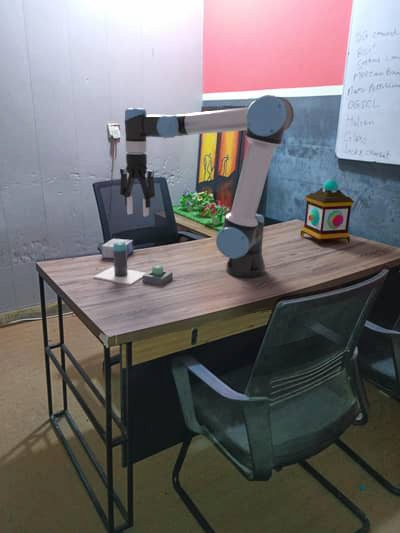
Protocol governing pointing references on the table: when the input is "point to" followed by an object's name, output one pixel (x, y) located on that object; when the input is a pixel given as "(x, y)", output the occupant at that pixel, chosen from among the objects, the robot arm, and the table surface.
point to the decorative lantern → (327, 213)
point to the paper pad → (128, 280)
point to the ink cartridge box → (108, 247)
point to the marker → (120, 259)
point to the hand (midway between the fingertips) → (138, 214)
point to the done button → (157, 270)
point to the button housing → (157, 278)
